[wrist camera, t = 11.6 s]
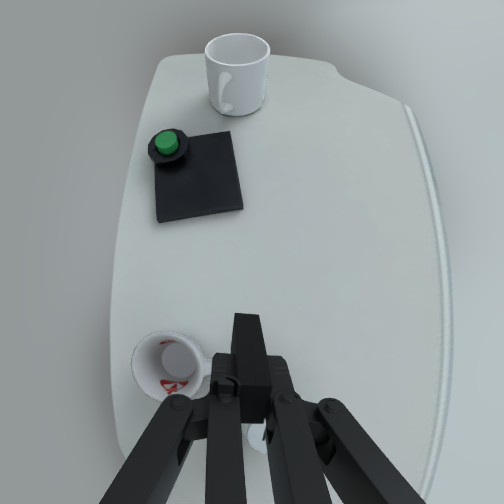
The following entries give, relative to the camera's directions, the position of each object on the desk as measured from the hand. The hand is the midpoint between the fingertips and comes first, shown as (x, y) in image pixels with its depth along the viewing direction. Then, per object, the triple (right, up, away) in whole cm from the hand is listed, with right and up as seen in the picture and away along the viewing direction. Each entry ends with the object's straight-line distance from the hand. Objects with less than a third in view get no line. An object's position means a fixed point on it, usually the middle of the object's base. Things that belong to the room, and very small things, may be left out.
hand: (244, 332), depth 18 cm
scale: (-8, +16, +23) cm, 29 cm away
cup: (-7, -9, +17) cm, 20 cm away
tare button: (-12, +21, +21) cm, 32 cm away
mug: (-2, +30, +27) cm, 41 cm away
